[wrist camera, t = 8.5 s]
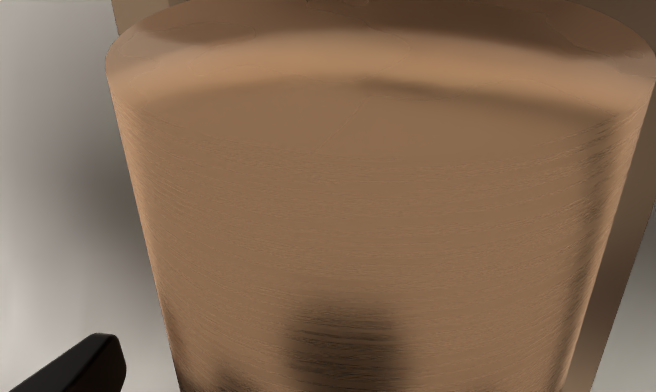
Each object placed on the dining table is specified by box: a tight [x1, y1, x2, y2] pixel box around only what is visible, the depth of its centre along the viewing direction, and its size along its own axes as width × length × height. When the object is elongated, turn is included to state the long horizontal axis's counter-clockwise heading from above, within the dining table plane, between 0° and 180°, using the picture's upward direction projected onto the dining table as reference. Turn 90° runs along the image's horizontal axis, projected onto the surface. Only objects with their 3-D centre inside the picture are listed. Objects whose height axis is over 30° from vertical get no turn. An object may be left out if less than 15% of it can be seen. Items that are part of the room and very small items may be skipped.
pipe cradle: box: [111, 0, 656, 392], centre depth 12 cm, size 14×10×3 cm
